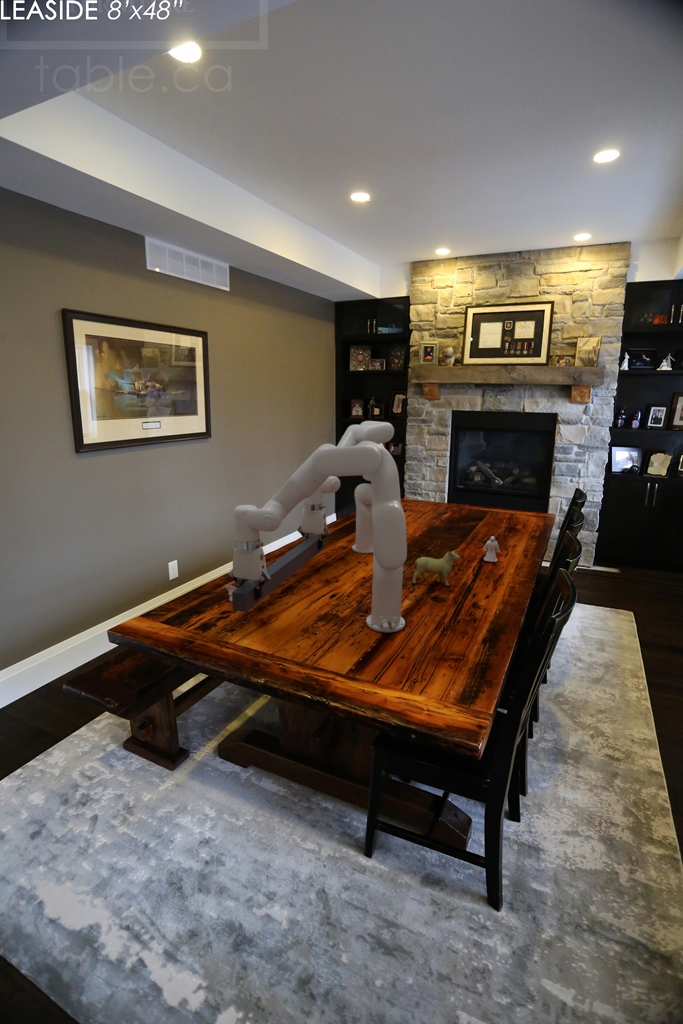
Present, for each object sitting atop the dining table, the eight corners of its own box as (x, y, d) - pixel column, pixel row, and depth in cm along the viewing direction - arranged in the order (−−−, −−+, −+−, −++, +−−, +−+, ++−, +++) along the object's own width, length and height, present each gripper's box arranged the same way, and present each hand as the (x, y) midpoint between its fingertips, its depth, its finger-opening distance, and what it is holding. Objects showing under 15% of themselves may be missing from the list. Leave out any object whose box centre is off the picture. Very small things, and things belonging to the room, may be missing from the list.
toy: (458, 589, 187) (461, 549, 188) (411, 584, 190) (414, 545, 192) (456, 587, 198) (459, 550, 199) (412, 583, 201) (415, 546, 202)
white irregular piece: (231, 609, 179) (216, 592, 179) (241, 599, 183) (227, 583, 182) (239, 604, 173) (224, 587, 172) (250, 595, 177) (235, 577, 176)
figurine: (481, 562, 222) (483, 536, 219) (482, 556, 230) (484, 531, 227) (499, 564, 220) (501, 538, 217) (499, 558, 228) (501, 533, 225)
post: (246, 612, 155) (245, 594, 154) (232, 610, 157) (231, 592, 155) (325, 547, 217) (325, 534, 216) (314, 546, 219) (314, 533, 217)
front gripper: (277, 543, 158) (279, 596, 163) (230, 538, 164) (233, 590, 168) (266, 550, 151) (268, 606, 156) (217, 545, 157) (221, 598, 161)
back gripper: (335, 506, 207) (335, 547, 212) (298, 502, 213) (299, 543, 217) (329, 510, 200) (329, 553, 205) (290, 506, 206) (291, 548, 211)
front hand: (250, 597), depth 162 cm, fingers closed on post, 5 cm apart
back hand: (313, 547), depth 211 cm, fingers closed on post, 4 cm apart
